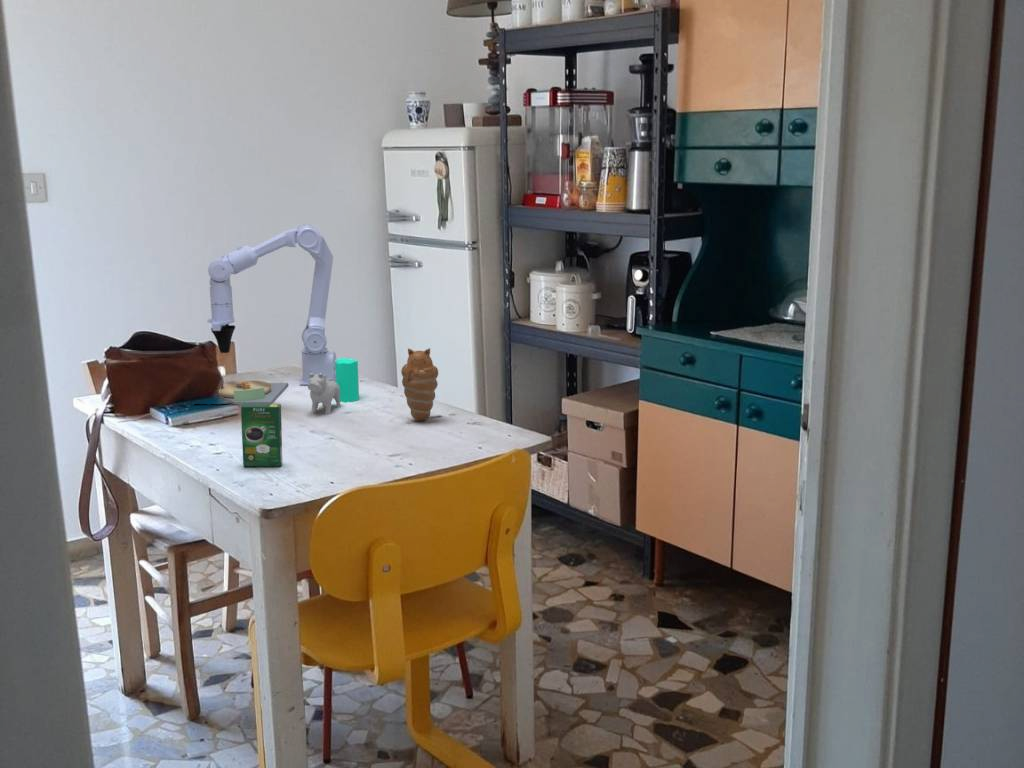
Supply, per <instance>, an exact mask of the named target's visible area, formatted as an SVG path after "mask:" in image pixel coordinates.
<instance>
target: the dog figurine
mask: <svg viewBox="0 0 1024 768" xmlns="http://www.w3.org/2000/svg"><path fill="white" fill-rule="evenodd" d="M307 388H308V390H309V395H310V397H309V398H310V400H311V401H312V405H311V412H310V413H311V414H317V411H318V408H319V404H320V403H321V404H322V406H321V407H322V408H324V409H325V414H326V415H330V414H331V412H332V411H331V410H332V401H333V399H334V401H335V403H336V404H335V406H336V408H339V409H340V408H341V402H340V387H339V385H338V384H337V383H336V381H335V382H334V381H332V378H328V379H326V376H325V375H323V374H322V373H318V374H313V373H310V374H309V385H307Z"/></svg>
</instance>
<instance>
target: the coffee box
mask: <svg viewBox="0 0 1024 768" xmlns="http://www.w3.org/2000/svg"><path fill="white" fill-rule="evenodd" d="M240 416H241V417H240V418H241V419H240V422H241V441H242V442H241V445H242V465H243V466H248V467H247V468H255V467H256V468H257V467H262V468H263V467H269V468H274V467H280V466H281V467H282V465H283V438H282V437H283V434H282V433H283V431H282V430H283V429H282V405H281V403H272V404H243V405H240ZM243 466H242V467H243ZM249 466H250V467H249ZM251 466H252V467H251ZM253 466H255V467H253Z"/></svg>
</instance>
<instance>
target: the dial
mask: <svg viewBox="0 0 1024 768" xmlns="http://www.w3.org/2000/svg"><path fill="white" fill-rule="evenodd" d="M221 377H222V386H221V389H220V391H219V395H220V396H222V397H228V398H234V390H244V389H254V388H260V387H263V388H264V394H266V393H268V392H270V391H271V384H269V383H270V382H266V381H262V380H235V381H227V382H224V377H223V376H221Z"/></svg>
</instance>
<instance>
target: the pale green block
mask: <svg viewBox="0 0 1024 768" xmlns="http://www.w3.org/2000/svg"><path fill="white" fill-rule="evenodd" d="M263 398H265V395H264V388H263V387H260V388H254V389H244V390H234V401H249V400H257V399H263Z"/></svg>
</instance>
